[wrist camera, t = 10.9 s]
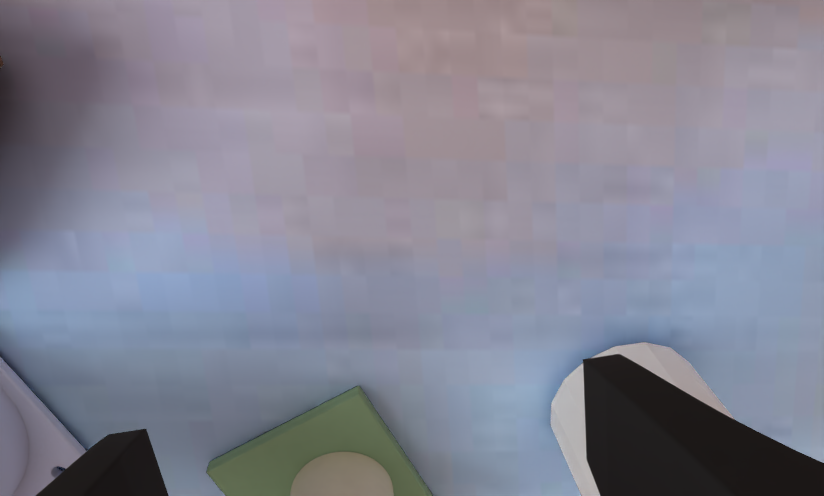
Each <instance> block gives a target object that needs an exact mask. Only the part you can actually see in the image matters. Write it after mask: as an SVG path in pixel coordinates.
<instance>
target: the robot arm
mask: <svg viewBox="0 0 824 496" xmlns="http://www.w3.org/2000/svg"><path fill="white" fill-rule="evenodd" d="M583 372H584V401H585V429H586V458H587V462H588V465H589V467H590V470H591V473H592V475H593V478H594V480H595V483H596V486H597V488H598V491H599V493H600V496H824V463H822V462H820V461H817V460H815V459H813V458H811V457H809V456H806V455H804V454H802V453H800V452H798V451H796V450H793V449H791V448H789V447H787V446H785V445H783V444H781V443H779V442H777V441H775V440H773V439H771V438H769V437H767V436H765V435H763V434H761V433H759V432H757V431H755V430H753V429H751V428H749V427H747V426H746V425H744V424H742V423H740V422H738V421H736V420H734V419H732V418H730V417H729V416H727V415H725V414H723V413H721V412H720V411H718V410H716V409H714V408H712V407H711V406H709V405H707V404H705V403H704V402H702V401H700V400H698V399H697V398H695V397H693V396H691V395H690V394H688V393H686V392H684V391H683V390H681V389H679V388H678V387H676V386H674V385H673V384H671V383H669V382H668V381H666V380H664V379H662V378H661V377H659V376H657V375H656V374H654V373H652V372H651V371H649V370H647V369H646V368H644V367H642V366H640V365H639V364H637V363H635V362H634V361H632V360H630V359H628V358H626V357H624V356H623V355H621V354H615V355H608V356H602V357H596V358H589V359H583ZM58 466H59V467H63V468H65V469H66V470H64V471H61V470H59V469H58V468H57V467H58ZM0 496H168V493H167V490H166V487H165V484H164V481H163V478H162V475H161V472H160V469H159V466H158V463H157V460H156V457H155V454H154V451H153V448H152V445H151V442H150V439H149V436H148V433H147V430H146V429H141V430H134V431H128V432H122V433H115V434H109V435H107V436H106V437H104V438H103V439H102V440H100V441H99V442H98V443H96V444H95V445H94V446H93V447H91V448H90V449H89V450H88V451H86V450H85V449H84V448H83V446H82V445H81V444H80V443H79V442H78V441H77V440H76V439H75V438H74V437H73V436H72V434H71V433H70V432H69V431H68V430H67V429H66V428H65V427H64V426H63V425H62V424H61V422H60V421H59V420H58V419H57V418H56V417H55V416H54V415H53V414H52V413H51V411H50V410H49V409H48V408H47V407H46V406H45V405H44V404H43V403H42V402H41V401H40V399H39V398H38V397H37V396H36V395H35V394H34V393H33V392H32V391H31V390H30V389H29V387H28V386H27V385H26V384H25V383H24V382H23V381H22V380H21V379H20V378H19V377H18V375H17V374H16V373H15V372H14V371H13V370H12V369H11V368H10V367H9V366H8V365H7V363H6V362H5V361H4V360H3V359H2V358H1V357H0Z"/></svg>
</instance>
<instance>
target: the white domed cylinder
mask: <svg viewBox="0 0 824 496" xmlns="http://www.w3.org/2000/svg"><path fill="white" fill-rule="evenodd" d="M615 354H621V355H623V356H624V357H626V358H628V359H630V360H632V361H634V362H635V363H637V364H639V365H640V366H642V367H644V368H646V369H647V370H649V371H651V372H652V373H654V374H656V375H657V376H659V377H661V378H662V379H664V380H666V381H668V382H669V383H671V384H673V385H674V386H676V387H678V388H679V389H681V390H683V391H684V392H686V393H688V394H690V395H691V396H693V397H695V398H697V399H698V400H700V401H702V402H704V403H705V404H707V405H709V406H711V407H712V408H714V409H716V410H718V411H720V412H721V413H723V414H725V415H727V416H729V417H730V418H732V419H734V418H733V416H732V415H731V414H730V413H729V411H728V410H727V409H726V408H725V406H724V405H723V404H722V403H721V401H720V400H719V399H718V398H717V397H716V395H715V394H714V393H713V392H712V390H711V389H710V388H709V387H708V385H707V384H706V383H705V382H704V380H703V379H702V378H701V377H700V375H699V374H698V373H697V372H696V370H695V369H694V368H693V367H692V365H691V364H690V363H689V362H688V361H687V360H686V359H684V358H683V357H682V356H681V355H679V354H678V353H677V352H676V351H674V350H673V349H672V348H670V347H665V346H660V345H656V344H651V343H646V342H642V343H635V344H628V345H621V346H614V347H612V348H610V349H608V350H606V351H604V352H602V353H599V354H597V355H595V356H593V357H591V358H596V357H602V356H608V355H615ZM734 420H735V419H734ZM550 425H551V428H552V430H553V432H554V434H555V437H556V439H557V441H558V443H559V446H560V448H561V450H562V453H563V455H564V457H565V459H566V462H567V464H568V466H569V468H570V471H571V473H572V475H573V477H574V480H575V482H576V484H577V486H578V489H579V491H580V493H581V496H600V493H599V491H598V488H597V486H596V483H595V480H594V478H593V475H592V473H591V470H590V467H589V465H588V462H587V458H586V429H585V401H584V372H583V363H582V364H581V365H580V366H579V367H577V368H576V369H575V370H574V371H573V372H572V373H571V374H570V375H569V376H567V377H566V378H565V379H564V380H563V382H562V384H561V386H560V388H559V390H558V392H557V393H556V395H555V397H554V399H553V401H552V403H551V423H550Z"/></svg>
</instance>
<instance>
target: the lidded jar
mask: <svg viewBox="0 0 824 496" xmlns="http://www.w3.org/2000/svg"><path fill="white" fill-rule="evenodd" d="M290 496H394V493H393V485H392V481H391V478H390V476H389V474H388V473H387V471H386V470H385V469H384V468H383V467H382V466H381V465H380V464H379V463H378V462H377V461H375V460H374V459H372V458H370V457H368V456H365V455H363V454H359V453H355V452H333V453H328V454H325V455H322V456H320V457H317V458H315V459H313V460H312V461H310V462H309V463H307V464H306V465H305V466H304V467H303V468H302V469H301V470H300V471H299V472H298V474H297V475H296V477H295V479H294V481H293V483H292V487H291V492H290Z"/></svg>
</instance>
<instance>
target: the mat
mask: <svg viewBox="0 0 824 496" xmlns="http://www.w3.org/2000/svg"><path fill="white" fill-rule="evenodd" d="M333 452H355V453H359V454H363V455H365V456H368V457H370V458H372V459H374V460H375V461H377V462H378V463H379V464H380V465H381V466H382V467H383V468H384V469H385V470H386V471H387V473H388V474H389V476H390V478H391V481H392V485H393V493H394V496H433V495H432V494H431V492H430V491H429V489H428V488H427V486H426V485H425V483H424V482H423V480H422V479H421V477H420V476H419V474H418V473H417V471H416V470H415V468H414V467H413V465H412V464H411V462H410V461H409V459H408V458H407V456H406V455H405V453H404V452H403V450H402V449H401V447H400V446H399V444H398V443H397V441H396V440H395V438H394V437H393V435H392V434H391V432H390V431H389V429H388V428H387V426H386V425H385V423H384V422H383V420H382V419H381V417H380V416H379V415H378V413H377V412H376V410H375V409H374V407H373V406H372V404H371V403H370V401H369V400H368V398H367V397H366V395H365V394H364V392H363V391H362V389H361V388H360V386H356V387H354V388H353V389H351V390H349V391H347V392H345V393H343V394H341V395H339V396H337V397H335V398H333V399H331V400H329V401H327V402H325V403H323V404H321V405H319V406H317V407H315V408H313V409H311V410H310V411H308V412H306V413H304V414H302V415H300V416H298V417H296V418H294V419H292V420H290V421H288V422H286V423H284V424H282V425H280V426H278V427H276V428H274V429H272V430H270V431H269V432H267V433H265V434H263V435H261V436H259V437H257V438H255V439H253V440H251V441H249V442H247V443H245V444H243V445H241V446H239V447H237V448H235V449H233V450H231V451H229V452H227V453H226V454H224V455H222V456H220V457H218V458H216V459H214V460H212V461H210V462H209V465H208V469H207V474H208V475H209V476H210V478H211V479H212V480H213V481H214V482H215V484H216V485H217V486H218V487H219V488H220V490H221V491H222V492H223V493H224V494H225V495H226V496H290V492H291V487H292V483H293V481H294V479H295V477H296V475H297V474H298V472H299V471H300V470H301V469H302V468H303V467H304V466H305V465H306V464H307V463H309V462H310V461H312V460H313V459H315V458H317V457H320V456H322V455H325V454H328V453H333Z"/></svg>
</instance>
